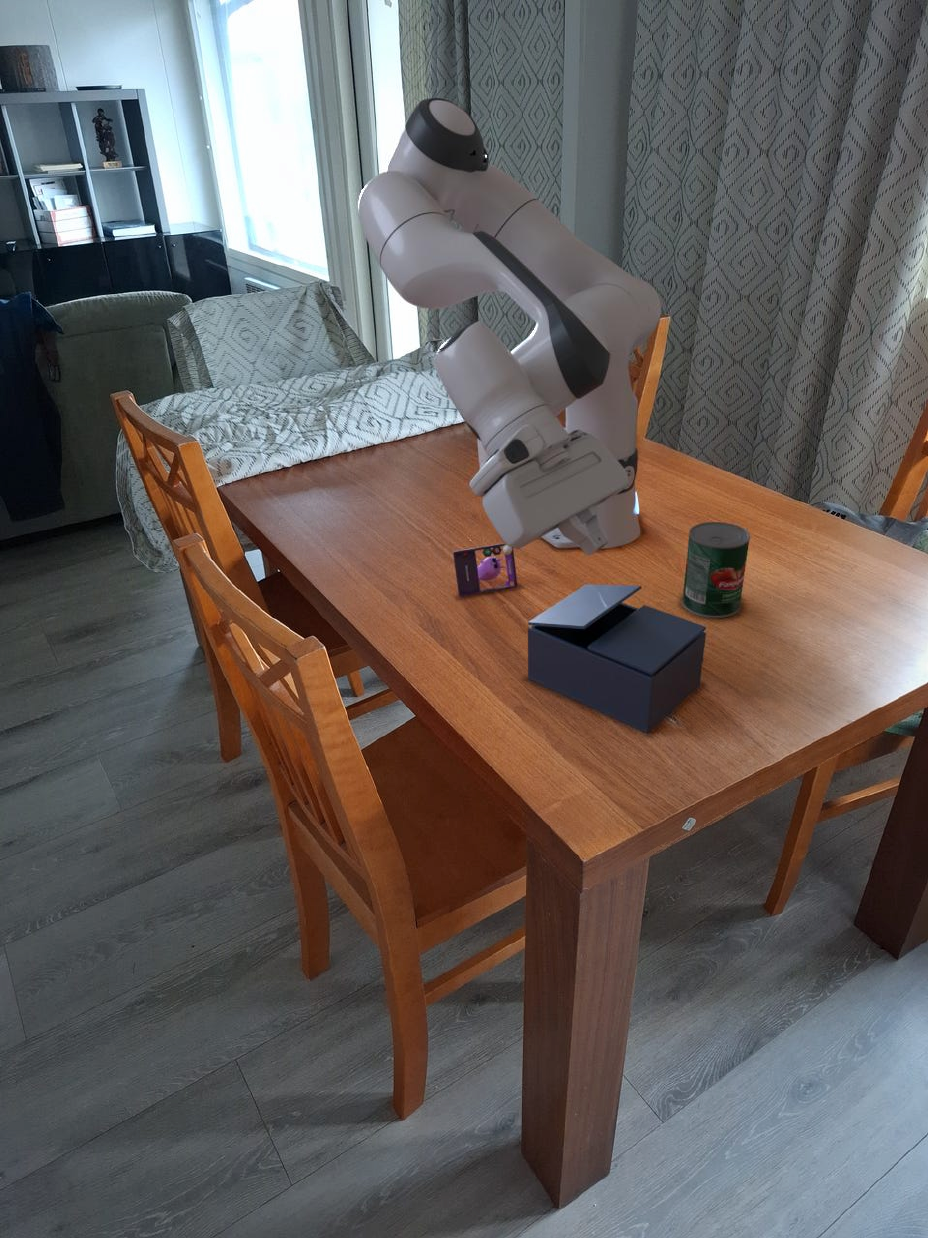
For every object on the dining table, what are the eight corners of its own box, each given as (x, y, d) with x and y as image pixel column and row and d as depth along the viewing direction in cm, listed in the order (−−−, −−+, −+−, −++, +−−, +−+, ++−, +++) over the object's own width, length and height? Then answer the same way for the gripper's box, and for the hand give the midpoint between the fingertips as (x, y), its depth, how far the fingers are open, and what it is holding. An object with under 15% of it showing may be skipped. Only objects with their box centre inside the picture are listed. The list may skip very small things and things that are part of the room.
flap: (528, 625, 98) (527, 622, 98) (586, 587, 106) (585, 584, 106) (584, 629, 92) (583, 626, 92) (641, 588, 100) (640, 585, 100)
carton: (527, 679, 102) (527, 622, 98) (584, 638, 110) (585, 584, 106) (647, 734, 92) (652, 672, 88) (700, 685, 100) (707, 626, 96)
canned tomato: (691, 586, 121) (699, 517, 115) (746, 598, 117) (756, 527, 112) (674, 611, 115) (681, 539, 109) (731, 624, 111) (741, 550, 106)
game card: (454, 552, 119) (513, 542, 121) (446, 549, 124) (503, 539, 126) (460, 597, 120) (519, 587, 122) (452, 592, 125) (509, 583, 127)
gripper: (569, 440, 104) (631, 531, 103) (458, 490, 91) (528, 594, 90) (600, 411, 99) (665, 506, 98) (487, 460, 86) (562, 569, 85)
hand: (599, 549), depth 94 cm, fingers closed
